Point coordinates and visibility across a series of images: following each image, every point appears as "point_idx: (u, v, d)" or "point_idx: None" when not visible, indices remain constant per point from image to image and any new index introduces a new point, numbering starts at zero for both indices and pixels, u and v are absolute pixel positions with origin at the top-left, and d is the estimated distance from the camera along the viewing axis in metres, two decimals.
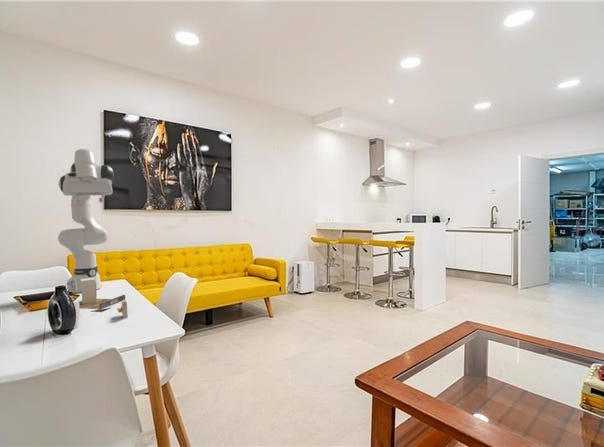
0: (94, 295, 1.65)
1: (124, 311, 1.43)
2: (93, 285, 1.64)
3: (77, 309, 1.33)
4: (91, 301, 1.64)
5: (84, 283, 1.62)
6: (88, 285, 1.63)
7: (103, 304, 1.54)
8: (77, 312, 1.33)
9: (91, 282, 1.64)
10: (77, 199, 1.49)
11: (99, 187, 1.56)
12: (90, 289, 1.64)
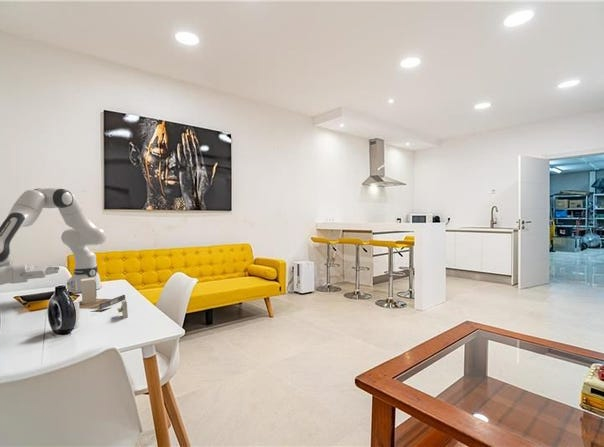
0: (94, 295, 1.65)
1: (124, 311, 1.43)
2: (93, 285, 1.64)
3: (77, 309, 1.33)
4: (91, 301, 1.64)
5: (84, 283, 1.62)
6: (88, 285, 1.63)
7: (103, 304, 1.54)
8: (77, 312, 1.33)
9: (91, 282, 1.64)
10: None
11: None
12: (90, 289, 1.64)
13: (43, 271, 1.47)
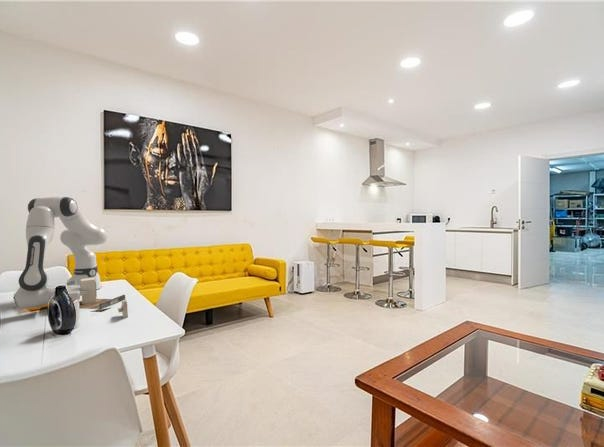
0: (94, 295, 1.65)
1: (124, 311, 1.43)
2: (93, 285, 1.64)
3: (77, 309, 1.33)
4: (91, 301, 1.64)
5: (84, 283, 1.62)
6: (88, 285, 1.63)
7: (103, 304, 1.54)
8: (77, 312, 1.33)
9: (91, 282, 1.64)
10: None
11: None
12: (90, 289, 1.64)
13: (78, 293, 1.55)
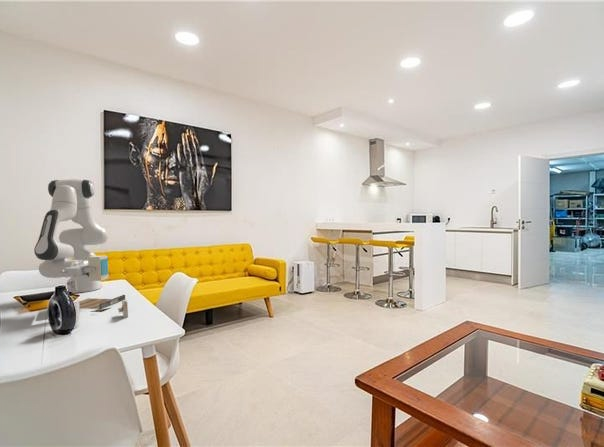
0: (99, 273, 1.58)
1: (124, 311, 1.44)
2: (98, 263, 1.58)
3: (77, 309, 1.33)
4: (96, 279, 1.58)
5: (90, 260, 1.58)
6: (94, 262, 1.58)
7: (103, 304, 1.54)
8: (77, 312, 1.33)
9: (96, 259, 1.58)
10: None
11: None
12: None
13: (76, 269, 1.52)
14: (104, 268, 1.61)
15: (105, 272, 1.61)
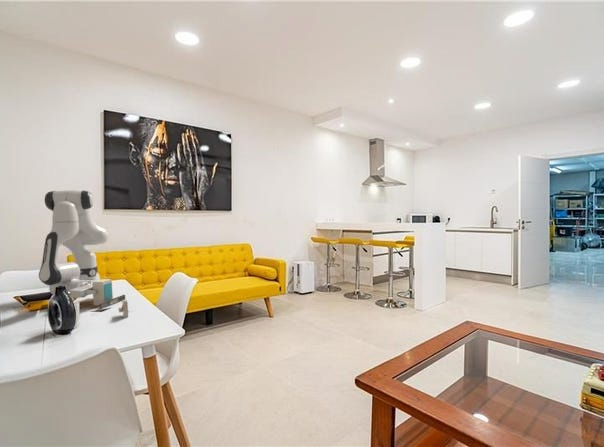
0: (102, 298, 1.58)
1: (125, 311, 1.44)
2: (101, 288, 1.58)
3: (77, 309, 1.33)
4: None
5: (94, 284, 1.59)
6: (97, 287, 1.58)
7: (103, 304, 1.54)
8: (77, 312, 1.33)
9: (99, 284, 1.58)
10: None
11: None
12: (99, 291, 1.58)
13: (78, 292, 1.52)
14: (107, 292, 1.61)
15: (109, 296, 1.61)
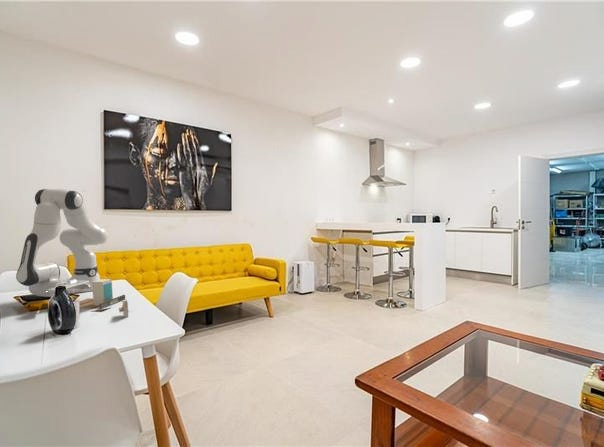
0: (102, 298, 1.58)
1: (125, 311, 1.44)
2: (101, 288, 1.58)
3: (77, 309, 1.33)
4: None
5: (94, 284, 1.59)
6: (97, 287, 1.58)
7: (103, 304, 1.54)
8: (77, 312, 1.33)
9: (99, 284, 1.58)
10: (88, 288, 1.68)
11: None
12: (99, 291, 1.58)
13: None
14: (107, 292, 1.61)
15: (109, 296, 1.61)
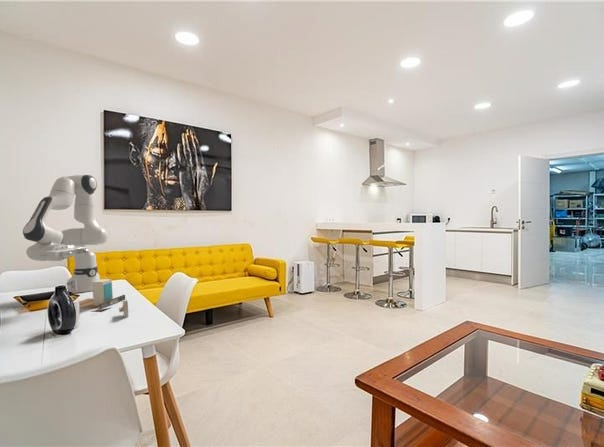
0: (102, 298, 1.58)
1: (125, 311, 1.44)
2: (101, 288, 1.58)
3: (77, 309, 1.33)
4: None
5: (94, 284, 1.59)
6: (97, 287, 1.58)
7: (103, 304, 1.54)
8: (77, 312, 1.33)
9: (99, 284, 1.58)
10: (86, 252, 1.67)
11: None
12: (99, 291, 1.58)
13: (53, 253, 1.54)
14: (107, 292, 1.61)
15: (109, 296, 1.61)
